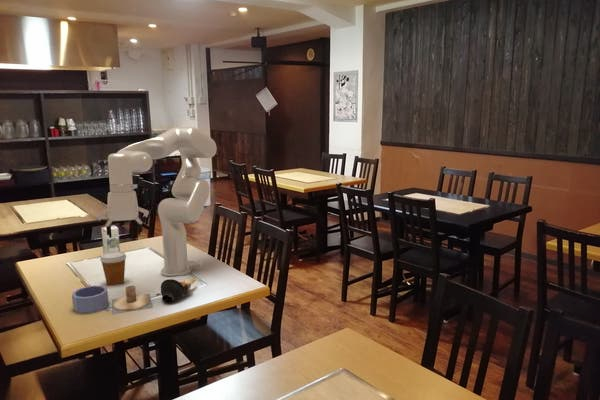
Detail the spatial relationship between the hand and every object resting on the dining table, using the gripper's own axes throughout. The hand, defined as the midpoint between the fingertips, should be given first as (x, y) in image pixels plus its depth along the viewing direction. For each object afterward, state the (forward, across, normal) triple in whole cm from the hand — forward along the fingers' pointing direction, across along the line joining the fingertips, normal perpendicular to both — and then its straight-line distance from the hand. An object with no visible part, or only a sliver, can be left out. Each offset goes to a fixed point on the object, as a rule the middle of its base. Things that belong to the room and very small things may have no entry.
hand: (124, 235), depth 162 cm
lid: (+22, -1, +8) cm, 24 cm away
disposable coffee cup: (+23, +5, -15) cm, 28 cm away
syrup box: (+23, +6, -51) cm, 57 cm away
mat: (+23, -1, +8) cm, 25 cm away
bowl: (+23, +12, +6) cm, 27 cm away
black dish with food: (+23, -18, +7) cm, 30 cm away
